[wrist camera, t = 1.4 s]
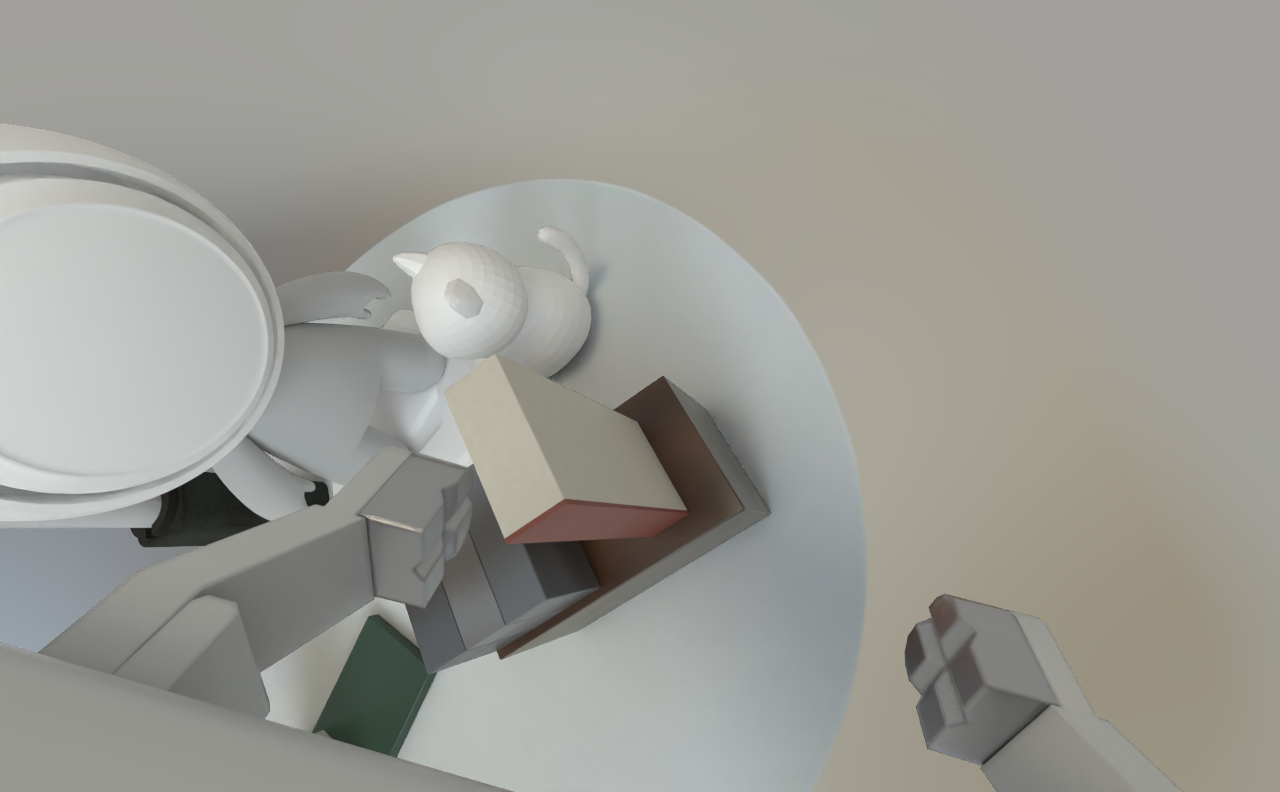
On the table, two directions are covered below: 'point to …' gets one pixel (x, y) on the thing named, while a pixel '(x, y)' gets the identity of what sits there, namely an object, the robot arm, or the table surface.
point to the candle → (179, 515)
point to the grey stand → (586, 547)
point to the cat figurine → (500, 303)
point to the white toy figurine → (183, 348)
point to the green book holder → (376, 691)
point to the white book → (559, 459)
